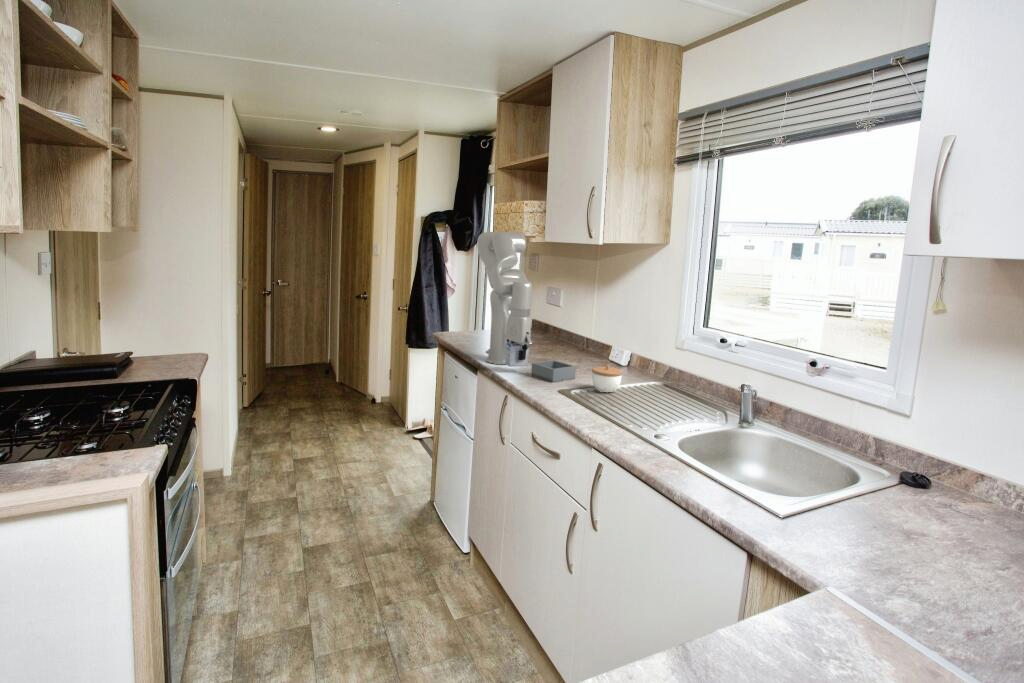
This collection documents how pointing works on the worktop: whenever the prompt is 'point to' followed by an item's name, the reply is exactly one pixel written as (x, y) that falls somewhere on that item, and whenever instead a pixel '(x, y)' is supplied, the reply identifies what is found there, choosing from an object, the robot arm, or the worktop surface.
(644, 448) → the worktop surface
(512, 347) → the medicine box
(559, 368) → the bin
